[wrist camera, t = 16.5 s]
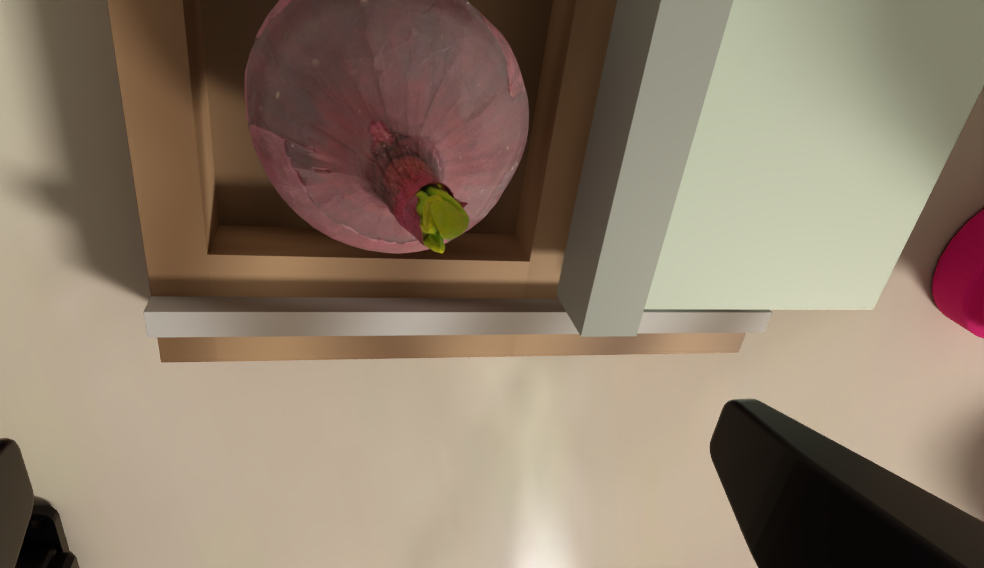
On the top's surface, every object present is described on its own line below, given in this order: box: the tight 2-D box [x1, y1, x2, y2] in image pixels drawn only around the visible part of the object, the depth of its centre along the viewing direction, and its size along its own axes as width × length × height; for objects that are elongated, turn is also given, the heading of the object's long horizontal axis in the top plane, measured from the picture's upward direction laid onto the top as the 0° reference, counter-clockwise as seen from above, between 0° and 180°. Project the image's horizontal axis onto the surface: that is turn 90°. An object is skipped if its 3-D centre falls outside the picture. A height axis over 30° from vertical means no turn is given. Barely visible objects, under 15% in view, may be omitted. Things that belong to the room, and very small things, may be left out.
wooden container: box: [107, 0, 772, 362], centre depth 17 cm, size 19×16×3 cm
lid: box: [556, 0, 984, 337], centre depth 17 cm, size 12×11×3 cm
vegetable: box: [245, 0, 529, 254], centre depth 13 cm, size 6×6×10 cm
